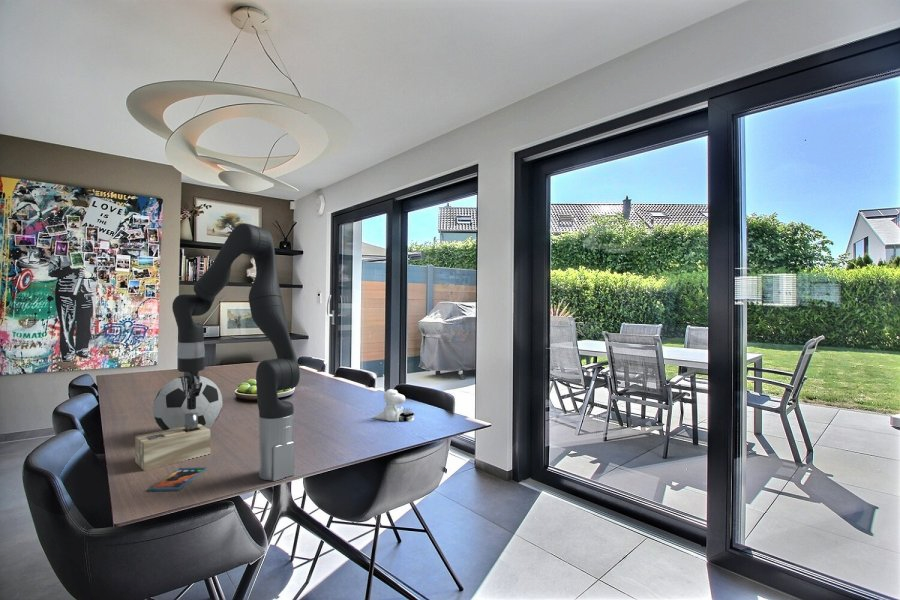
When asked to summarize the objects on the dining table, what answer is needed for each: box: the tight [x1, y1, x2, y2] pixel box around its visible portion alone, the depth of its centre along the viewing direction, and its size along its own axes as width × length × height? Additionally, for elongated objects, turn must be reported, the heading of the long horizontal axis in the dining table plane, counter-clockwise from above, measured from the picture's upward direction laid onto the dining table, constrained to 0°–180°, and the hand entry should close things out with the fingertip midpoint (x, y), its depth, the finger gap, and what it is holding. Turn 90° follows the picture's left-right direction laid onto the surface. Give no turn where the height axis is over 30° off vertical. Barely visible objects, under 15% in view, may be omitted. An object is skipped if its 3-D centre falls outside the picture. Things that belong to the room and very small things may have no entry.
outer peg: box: [148, 435, 162, 440], centre depth 134 cm, size 4×4×7 cm
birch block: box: [134, 424, 211, 472], centre depth 137 cm, size 10×18×8 cm, turn 138°
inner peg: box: [185, 413, 198, 432], centre depth 141 cm, size 4×4×7 cm
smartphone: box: [147, 467, 208, 492], centre depth 122 cm, size 8×1×15 cm
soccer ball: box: [152, 375, 223, 431], centre depth 160 cm, size 22×22×22 cm
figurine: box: [372, 388, 416, 423], centre depth 182 cm, size 8×18×12 cm, turn 81°
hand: (191, 409), depth 141 cm, fingers closed
